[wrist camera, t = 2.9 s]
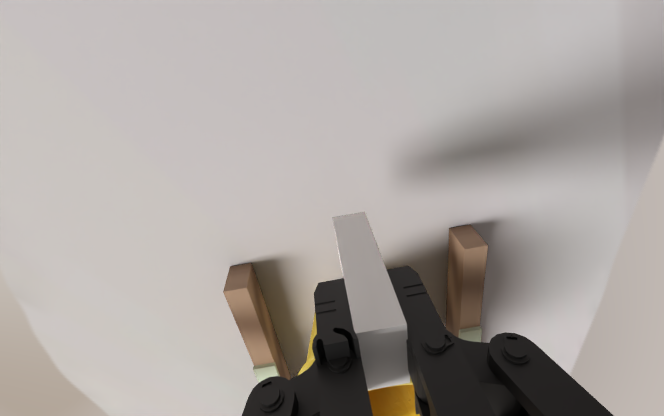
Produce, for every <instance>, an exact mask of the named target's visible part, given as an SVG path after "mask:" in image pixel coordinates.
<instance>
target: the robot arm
mask: <svg viewBox="0 0 664 416" xmlns="http://www.w3.org/2000/svg"><path fill="white" fill-rule="evenodd" d="M333 224H334V229H335V235H336V241H337V247H338V252H339V258H340V264H341V269H342V275H343V279H337V280H332V281H326V282H321V283H318V285H317V288H316V290H315V292H314V300H315V313H316V329H317V334H316V336H315V337H314V339H313V343H312V350H313V354H314V358H315V361H314V362H313V364H312V365H311V366H310V367H309V368H308V369H307V370H306V371H304V372H303V373H301V374H300V375H298V376H296V377H294V378H292V379H290V380H287V379H286V378H284V377H280V376H274V377H268V378H266V379H265V380H263V381H261V382H260V383H258V384H257V385H256V386H255V387H254V388H253V390H252V392H251V394H250V395H249V397H248V400H247V403H246V406H245V408H244V411H243V414H242V416H373V413H372V408H371V403H370V398H369V393H368V390H373V389H378V388H383V387H389V386H394V385H400V384H405V383H410V377H411V380H412V383H413V386H414V394H415V411H416V414H420V416H613V415H612V414H611V413H610V412H609V411H608V410H607V409H606V408H605V407H604V406H602V405H601V404H600V403H599V402H598V401H597V400H596V399H595V398H593V396H591V395H590V394H589V393H588V392H587V391H586V390H585V389H584V388H583V387H581V385H579V384H578V383H577V382H576V381H575V380H574V379H573V378H572V377H571V376H570V375H568V374H567V373H566V372H565V371H564V370H563V369H562V368H561V367H560V366H559V365H558V364H556V363H555V362H554V361H553V360H552V359H551V358H550V357H549V356H548V355H547V354H545V353H544V352H543V351H542V350H541V349H540V348H539V347H538V346H537V345H536V344H534V343H533V342H532V341H530V340H529V339H527V338H526V337H524V336H521V335H518V334H515V333H501V334H497V335H496V336H494V337H493V338H492V339H491V341H490V343H483V342H473V341H467V340H463V339H461V338H458V337H456V336H454V335H453V334H452V333H451V332H449V331H448V330H447V329H446V328H445V326H444V325H443V323H442V321H441V319H440V317H439V315H438V313H437V311H436V309H435V307H434V305H433V303H432V301H431V299H430V297H429V295H428V294H427V291H426V289H425V287H424V286H423V283H422V281H421V279H420V277H419V275H418V273H417V272H415V271H414V270H413V269H412V268H410V267H409V266H404V267H399V268H393V269H388V270H386V267H385V264H384V262H383V259H382V256H381V254H380V251H379V248H378V246H377V243H376V240H375V238H374V235H373V232H372V230H371V227H370V224H369V222H368V219H367V216H366V214H365V212H361V213H355V214H350V215H344V216H339V217H333Z"/></svg>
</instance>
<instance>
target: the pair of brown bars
mask: <svg viewBox="0 0 664 416" xmlns="http://www.w3.org/2000/svg"><path fill="white" fill-rule="evenodd" d="M487 251H488V245H487V244H486V242H485V241H484V240H483V239H482V238H481V237H480V235H479V234H478V233H477V232H476V231H475V229H474V228H473V227H472V226H471V225H465V226H459V227H453V228H449V250H448V280H447V311H446V329H447V330H448V331H449V332H451V333H452V334H453V335H454V336H456V337H458V338H461V339H463V340H467V341H473V342H481V335H482V328H481V327H480V317H481V307H482V298H483V288H484V279H485V270H486V260H487ZM223 292H224V295H225V297H226V300H227V302H228V304H229V307H230V309H231V311H232V314H233V316H234V319H235V321H236V323H237V326H238V328H239V331H240V333H241V335H242V338H243V340H244V342H245V345H246V347H247V350H248V352H249V354H250V357H251V359H252V361H253V364H254V367H253V370H254V373H255V375H256V377H257V380H258V382H259V383H260V382H261V381H263V380H265V379H266V378H268V377H274V376H280V377H284V378H286V379H287V380H290V379H291V377H290V374H289V371H288V368H287V365H286V362H285V359H284V356H283V353H282V350H281V348H280V345H279V342H278V339H277V336H276V333H275V330H274V327H273V324H272V321H271V318H270V315H269V313H268V310H267V307H266V304H265V301H264V298H263V295H262V292H261V289H260V286H259V283H258V280H257V277H256V275H255V272H254V269H253V266H252V263H247V264H242V265H236V266H230V269H229V273H228V276H227V280H226V284H225V287H224V291H223Z"/></svg>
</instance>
